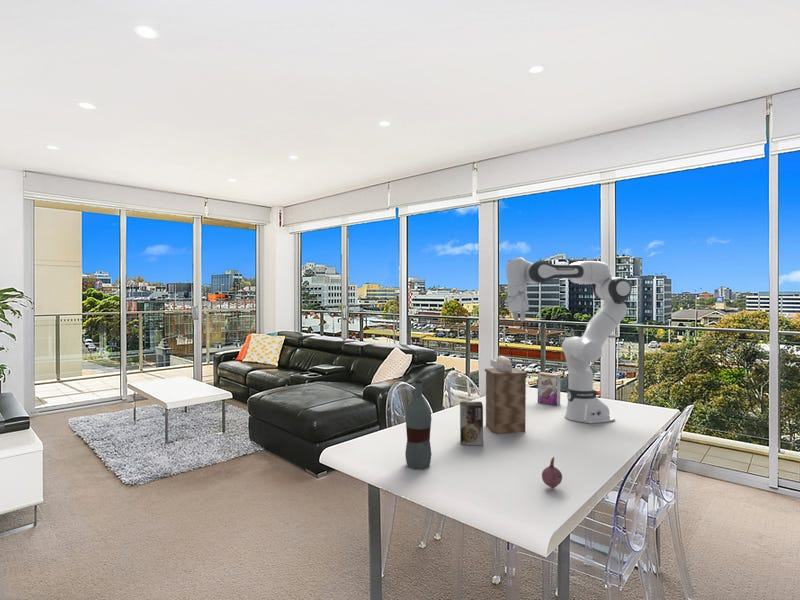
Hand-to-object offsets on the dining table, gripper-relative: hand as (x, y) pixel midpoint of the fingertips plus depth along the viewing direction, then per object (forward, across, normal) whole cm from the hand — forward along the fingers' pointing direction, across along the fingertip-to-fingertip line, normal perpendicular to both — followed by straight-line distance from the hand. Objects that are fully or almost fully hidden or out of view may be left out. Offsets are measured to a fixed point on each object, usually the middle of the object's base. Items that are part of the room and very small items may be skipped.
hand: (519, 321), depth 221 cm
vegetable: (+50, -74, +17) cm, 91 cm away
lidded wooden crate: (+47, -11, +14) cm, 50 cm away
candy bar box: (+47, +35, -24) cm, 64 cm away
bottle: (+46, -52, +56) cm, 90 cm away
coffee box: (+47, -29, +33) cm, 64 cm away
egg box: (+21, -6, +12) cm, 25 cm away
